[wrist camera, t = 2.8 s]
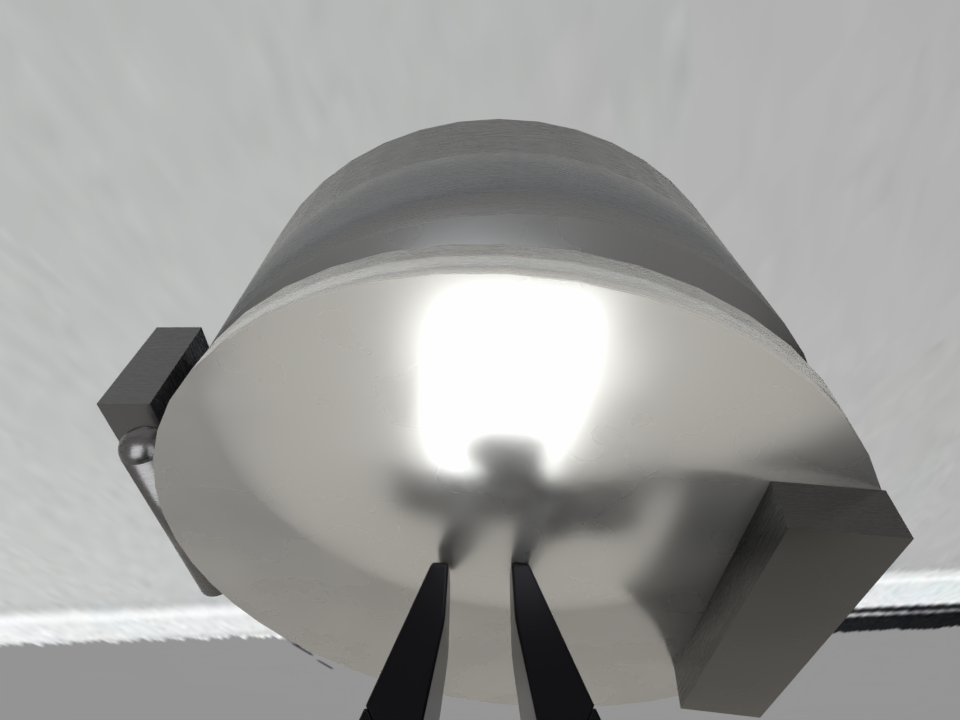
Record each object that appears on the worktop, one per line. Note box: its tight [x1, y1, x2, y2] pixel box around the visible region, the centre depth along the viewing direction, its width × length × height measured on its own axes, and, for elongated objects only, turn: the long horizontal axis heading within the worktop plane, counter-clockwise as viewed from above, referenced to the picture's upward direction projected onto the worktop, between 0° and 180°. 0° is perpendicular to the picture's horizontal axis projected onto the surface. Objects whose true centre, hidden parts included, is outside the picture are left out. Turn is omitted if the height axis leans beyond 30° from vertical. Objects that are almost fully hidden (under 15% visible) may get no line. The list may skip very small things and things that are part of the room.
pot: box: [97, 119, 807, 442], centre depth 17 cm, size 17×16×6 cm
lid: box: [118, 244, 914, 718], centre depth 13 cm, size 16×16×2 cm
